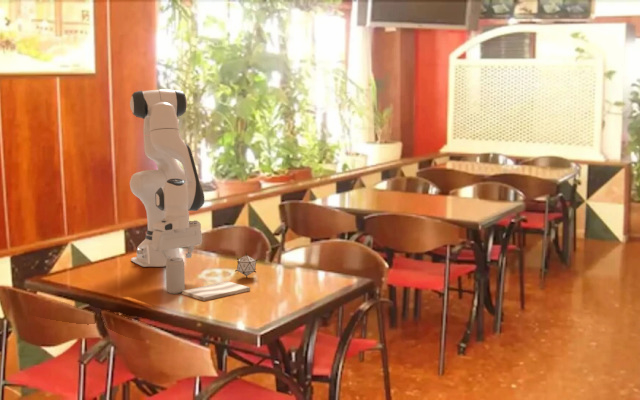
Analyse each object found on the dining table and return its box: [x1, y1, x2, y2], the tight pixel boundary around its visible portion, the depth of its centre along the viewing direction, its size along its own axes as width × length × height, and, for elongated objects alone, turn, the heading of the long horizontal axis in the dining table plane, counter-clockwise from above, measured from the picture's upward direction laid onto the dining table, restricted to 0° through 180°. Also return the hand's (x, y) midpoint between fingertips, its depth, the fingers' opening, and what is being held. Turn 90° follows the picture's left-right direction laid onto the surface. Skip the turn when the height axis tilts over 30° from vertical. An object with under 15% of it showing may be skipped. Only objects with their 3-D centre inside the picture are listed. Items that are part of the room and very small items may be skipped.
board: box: [181, 280, 251, 302], centre depth 270 cm, size 13×20×1 cm, turn 134°
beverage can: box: [165, 257, 186, 295], centre depth 270 cm, size 6×6×12 cm
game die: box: [234, 252, 259, 279], centre depth 290 cm, size 9×8×10 cm
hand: (178, 259), depth 286 cm, fingers open, 8 cm apart
